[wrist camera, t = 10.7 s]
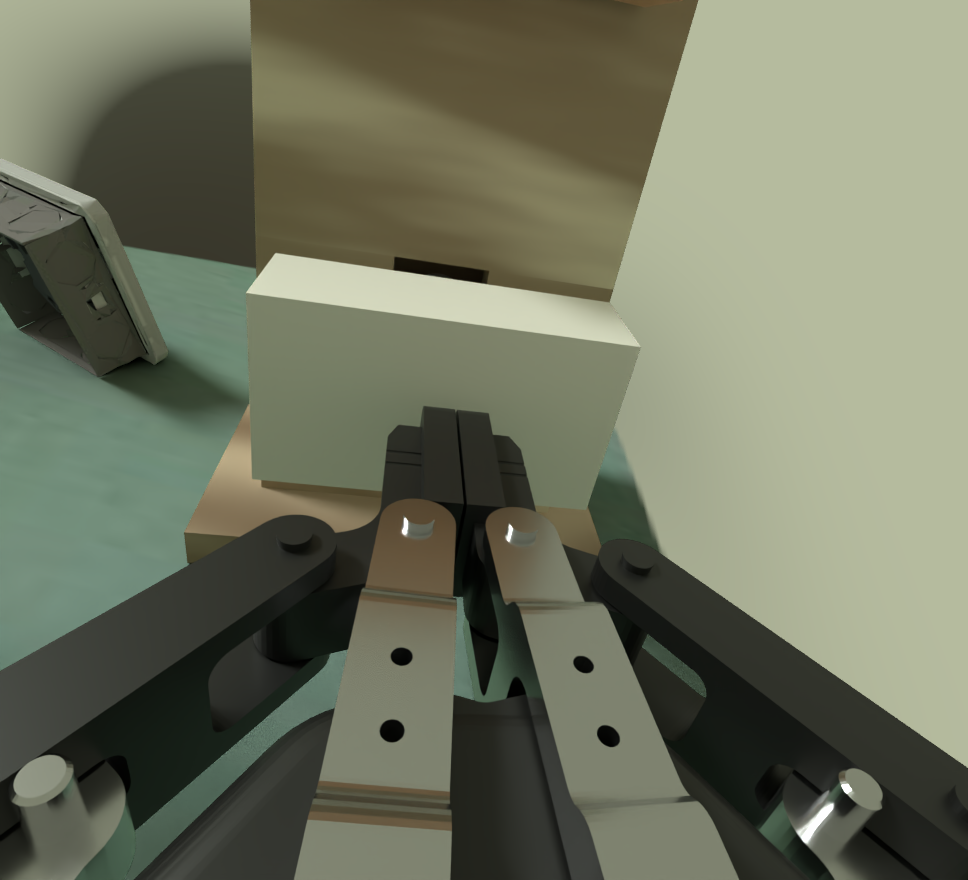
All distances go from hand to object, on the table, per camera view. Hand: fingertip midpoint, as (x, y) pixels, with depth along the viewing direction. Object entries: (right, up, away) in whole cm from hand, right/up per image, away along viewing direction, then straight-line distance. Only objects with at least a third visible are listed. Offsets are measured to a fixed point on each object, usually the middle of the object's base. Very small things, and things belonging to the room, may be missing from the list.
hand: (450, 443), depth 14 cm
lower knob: (-1, +1, +6) cm, 6 cm away
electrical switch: (-22, +5, +20) cm, 30 cm away
